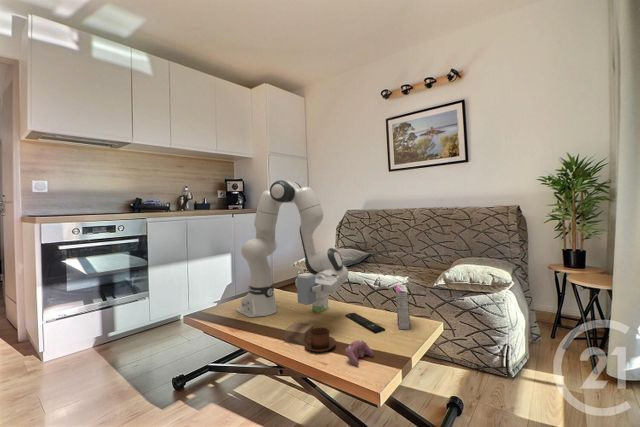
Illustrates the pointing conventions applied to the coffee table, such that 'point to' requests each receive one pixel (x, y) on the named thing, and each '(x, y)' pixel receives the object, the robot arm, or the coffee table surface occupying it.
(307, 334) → the walnut block
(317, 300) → the ink box
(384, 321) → the coffee table surface
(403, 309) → the candy bar box
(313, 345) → the cup and saucer
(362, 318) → the remote control
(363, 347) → the video game controller
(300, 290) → the tall gray box
